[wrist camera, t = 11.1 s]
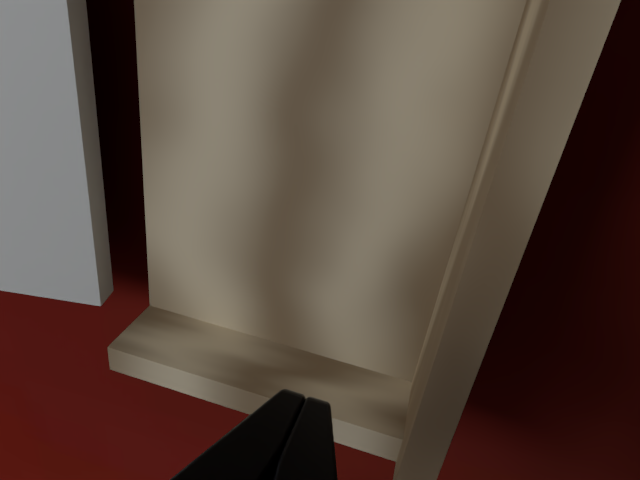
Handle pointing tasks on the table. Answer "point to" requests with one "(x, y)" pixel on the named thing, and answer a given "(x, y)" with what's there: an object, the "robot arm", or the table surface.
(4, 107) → the panel
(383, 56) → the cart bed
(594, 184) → the table surface
